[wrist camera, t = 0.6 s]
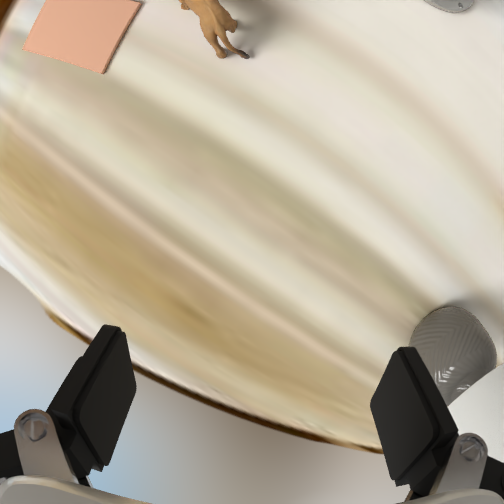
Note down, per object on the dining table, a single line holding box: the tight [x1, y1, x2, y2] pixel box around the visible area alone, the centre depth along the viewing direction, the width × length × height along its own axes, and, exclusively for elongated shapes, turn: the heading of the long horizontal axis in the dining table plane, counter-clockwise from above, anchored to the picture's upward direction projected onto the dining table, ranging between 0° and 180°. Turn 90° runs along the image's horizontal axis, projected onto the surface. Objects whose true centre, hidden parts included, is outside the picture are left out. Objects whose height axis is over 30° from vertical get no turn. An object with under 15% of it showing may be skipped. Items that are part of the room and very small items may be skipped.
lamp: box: [409, 307, 504, 463], centre depth 26 cm, size 21×21×37 cm
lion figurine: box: [179, 0, 250, 59], centre depth 23 cm, size 15×5×9 cm, turn 40°
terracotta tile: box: [22, 0, 141, 74], centre depth 26 cm, size 10×16×1 cm, turn 62°
